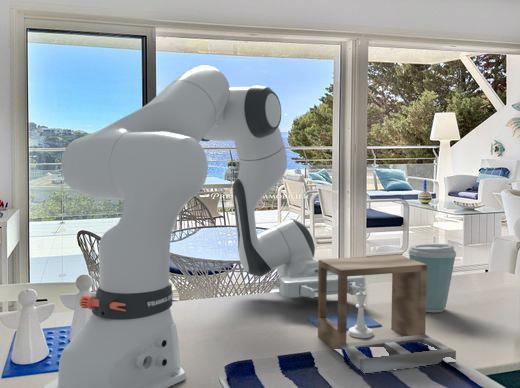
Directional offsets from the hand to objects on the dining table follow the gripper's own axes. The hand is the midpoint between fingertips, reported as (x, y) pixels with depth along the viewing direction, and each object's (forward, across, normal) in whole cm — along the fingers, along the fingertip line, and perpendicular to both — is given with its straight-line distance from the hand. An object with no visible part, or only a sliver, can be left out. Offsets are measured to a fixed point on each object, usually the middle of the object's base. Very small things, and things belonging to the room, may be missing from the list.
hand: (335, 292), depth 118 cm
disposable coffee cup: (0, +24, +6) cm, 24 cm away
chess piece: (+11, 0, +6) cm, 13 cm away
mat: (+4, 0, +5) cm, 7 cm away
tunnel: (+20, 0, +5) cm, 21 cm away
